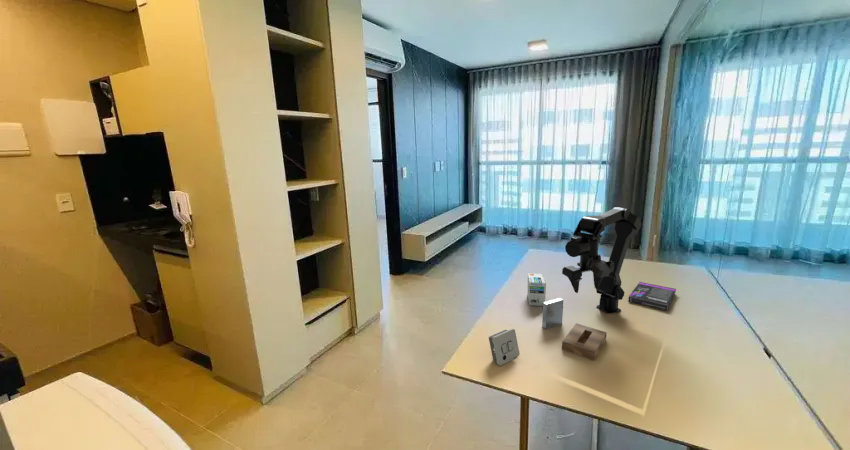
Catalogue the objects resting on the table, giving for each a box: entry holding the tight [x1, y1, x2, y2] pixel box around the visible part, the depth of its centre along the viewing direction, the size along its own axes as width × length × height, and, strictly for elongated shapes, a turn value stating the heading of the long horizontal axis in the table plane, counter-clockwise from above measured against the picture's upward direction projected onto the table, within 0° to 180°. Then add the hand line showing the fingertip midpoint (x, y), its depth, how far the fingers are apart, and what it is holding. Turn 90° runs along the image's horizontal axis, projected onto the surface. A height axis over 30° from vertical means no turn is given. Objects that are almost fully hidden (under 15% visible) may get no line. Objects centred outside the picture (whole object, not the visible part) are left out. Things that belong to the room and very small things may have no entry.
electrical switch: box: [488, 328, 520, 366], centre depth 109 cm, size 9×5×9 cm, turn 121°
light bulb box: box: [526, 272, 547, 307], centre depth 146 cm, size 11×7×11 cm, turn 168°
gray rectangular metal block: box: [541, 297, 564, 330], centre depth 124 cm, size 8×2×11 cm, turn 114°
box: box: [627, 281, 677, 312], centre depth 144 cm, size 14×4×20 cm
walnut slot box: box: [561, 323, 608, 361], centre depth 113 cm, size 14×10×4 cm
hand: (586, 290), depth 126 cm, fingers open, 9 cm apart
